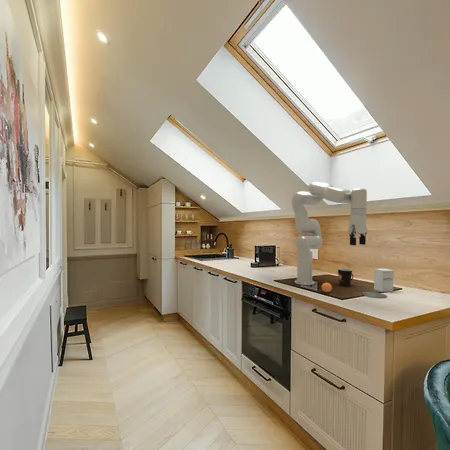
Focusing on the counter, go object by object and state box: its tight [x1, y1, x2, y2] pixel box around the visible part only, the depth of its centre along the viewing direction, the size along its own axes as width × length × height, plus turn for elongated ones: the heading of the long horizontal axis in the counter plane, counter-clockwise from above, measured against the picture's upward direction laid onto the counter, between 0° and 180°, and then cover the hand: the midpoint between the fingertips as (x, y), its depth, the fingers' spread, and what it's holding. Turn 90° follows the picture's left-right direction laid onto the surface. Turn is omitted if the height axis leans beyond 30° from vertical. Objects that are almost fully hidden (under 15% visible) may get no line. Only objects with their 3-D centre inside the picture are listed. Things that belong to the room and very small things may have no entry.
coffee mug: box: [337, 268, 354, 287], centre depth 186 cm, size 12×9×10 cm
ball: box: [321, 282, 333, 293], centre depth 168 cm, size 6×6×6 cm
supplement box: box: [373, 268, 395, 293], centre depth 174 cm, size 7×7×13 cm
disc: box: [361, 291, 388, 299], centre depth 163 cm, size 13×13×1 cm
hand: (357, 244), depth 154 cm, fingers open, 9 cm apart
